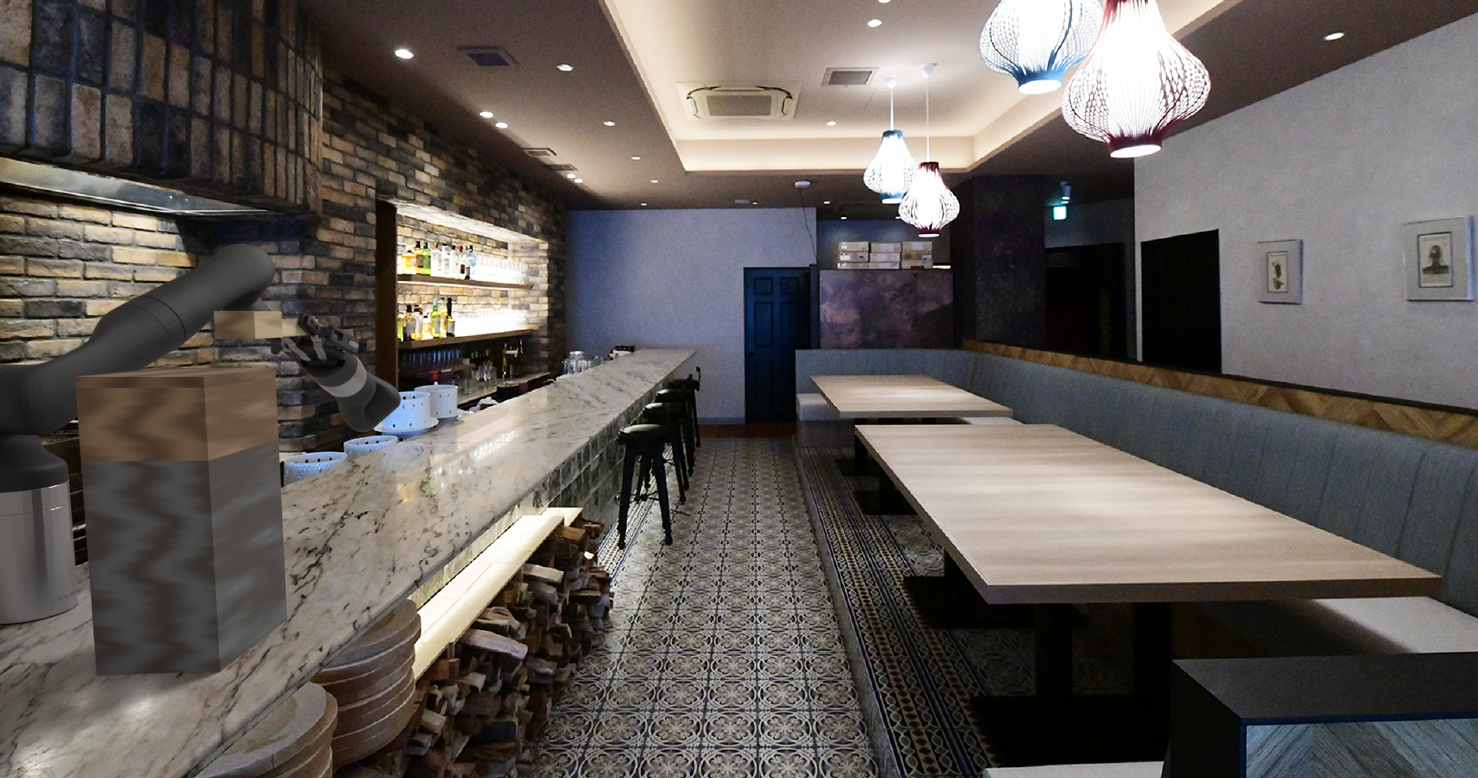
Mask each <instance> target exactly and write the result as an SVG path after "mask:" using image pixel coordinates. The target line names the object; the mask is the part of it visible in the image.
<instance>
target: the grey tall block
mask: <svg viewBox="0 0 1478 778" xmlns="http://www.w3.org/2000/svg"><path fill="white" fill-rule="evenodd" d="M276 380H277V377H276V368H275V367H162V368H152V369H151V368H150V369H142V370H139V371H129V372H119V373H109V374H98V375H88V376H78V377H75V385H76V399H77V413H78V417H77V424H78V425H77V426H78V437H79V438H78V439H79V453H80V464H81V465H80V466H81V479H82V480H81V481H82V494H83V506H84V508H83V509H84V521H85V535H86V536H85V537H86V547H87V549H86V550H87V561H88V574H89V575H88V577H89V590H90V603H91V604H90V605H91V606H90V607H91V619H92V631H93V633H92V634H93V644H94V647H93V648H94V657H95V658H94V659H95V670H96V672H95V673H96V676H113V675H114V676H116V675H117V676H118V675H146V674H147V675H149V674H173V673H174V674H175V673H176V674H178V673H179V674H180V673H205V672H206V673H208V672H209V673H210V672H222V671H223V670H224V669H225V668H227V667H228V666H230V664H232V663H233V662H234V661H236V660H237V659H238V658H239V657H241V656H242V655H243V654H245V652H247V651H248V650H250V649H251V648H252V647H254V646H255V645H256V644H258V642H260V641H261V640H262V639H264V638H265V637H266V636H267V635H269V634H270V633H271V632H273V630H275V629H276V628H278V627H279V626H280V625H282V624H283V623H285V622H286V621H287V620H288V608H287V607H288V605H287V589H286V588H287V587H286V586H287V585H286V566H285V565H286V564H285V563H286V562H285V547H284V545H285V544H284V543H285V541H284V525H283V524H284V523H283V522H284V521H283V520H284V519H283V503H282V485H281V480H282V479H281V463H280V460H281V459H280V443H279V441H280V440H279V419H278V402H277V401H278V400H277V397H278V396H277V381H276Z"/></svg>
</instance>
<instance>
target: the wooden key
mask: <svg viewBox="0 0 1478 778" xmlns="http://www.w3.org/2000/svg"><path fill="white" fill-rule="evenodd" d="M282 314H283V312H282V311H280V310H279V311H276V310H275V311H273V310H272V311H223V310H220V311H214V317H213V319H214V322H213V323H214V337H215V340H218V339H219V340H222V339H224V340H233V339H234V340H237V339H238V340H257V339H258V340H259V339H264V338H277V337H285V336H301V335H307V334H306V333H305V332H304V331H303V330H302V329H301V328H300V327H299V325H298V318H287V319H282ZM313 319H314V320H315V321H316V322H317V323H319V319H318V318H313Z"/></svg>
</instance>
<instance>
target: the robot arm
mask: <svg viewBox="0 0 1478 778" xmlns="http://www.w3.org/2000/svg"><path fill="white" fill-rule="evenodd" d="M275 267H276V266H275V264H274V261H273V259H272V258H271V256H270V255H269V254H268V253H267V252H266V251H265V250H263V249H262V248H259V247H257V246H255V245H252V244H247V243H236V244H234V243H233V244H230V245H226V246H224V247H223V248H221V249H220V250H219V251H218V252H216V253H215V254H214V255H212V256H211V257H210V258H208V259H207V260H206V261H203V263H201V264H200V265H198V266H196V267H195V268H194V269H192V270H190V271H188V272H185V273H183V274H182V275H179V276H178V277H177V276H176V277H174V278H172V279H170V280H169V281H166V282H164V283H162V284H160V285H158V286H156V287H154V288H152V289H150V290H148V291H146V292H144V293H141V294H140V295H138V296H135V297H133V298H131V299H129V300H127V301H126V302H123V303H122V304H120V305H118V306H116V307H115V308H113V309H111V310H109V311H108V312H107V313H105V314H104V315H103V316H101V318H100V319H99V321H97V322H96V324H95V326H94V329H93V331H92V333H91V334H90V337H89V338H88V340H86V342H84V343H83V344H81V345H80V346H78V347H76V348H74V349H72V350H69V351H67V352H65V353H64V354H62V355H59V356H57V357H55V358H51V359H49V360H47V361H45V362H39V363H35V364H15V363H14V364H9V363H8V364H7V363H4V364H2V363H1V364H0V625H3V624H4V625H6V624H16V623H17V624H18V623H23V622H30V621H35V620H41V619H45V618H49V617H51V616H55V615H58V614H62V613H64V612H66V611H68V610H71V609H72V608H74V607H75V606H77V605H78V603H79V600H78V599H79V597H78V586H77V585H78V584H77V569H76V558H75V557H76V556H75V555H76V554H75V545H74V531H73V516H72V506H71V505H72V504H71V492H70V478H69V476H70V475H69V467H68V466H69V465H68V463H67V462H66V461H65V460H64V459H63V458H61V457H59V456H57V455H55V454H53V453H52V452H50V451H48V449H46V447H44V445H43V444H42V443H41V442H40V439H39V436H40V435H45V434H49V433H53V432H55V431H58V430H60V429H62V428H64V427H65V426H67V425H69V424H70V423H71V422H73V421H74V420H75V419H76V418H77V419H78V413H77V399H76V385H75V377H78V376H88V375H98V374H109V373H119V372H129V371H139V370H145V368H146V367H148V366H151V364H153V363H155V362H157V361H158V360H160V359H162V358H163V357H165V356H167V355H168V354H170V353H171V352H173V351H175V350H177V348H180V347H181V346H183V345H184V344H185V343H186V342H188V341H189V340H190V339H192V338H193V337H194V336H195V335H196V334H197V333H199V332H200V331H201V330H202V329H203V328H205V326H206V325H207V324H208V323H209V322H211V321H212V319H214V311H273V310H272V309H271V308H270V307H269V306H268V305H267V304H266V303H265V302H264V301H263V300H262V298H261V296H262V295H263V294H264V292H266V291H267V289H268V288H269V287H270V286H271V284H272V282H273V281H274V278H275V274H276V269H275ZM297 317H298V318H297V319H298V325H299V327H300V328H301V329H302V330H303V331H304V332H305V333H306V334H307V335H301V336H285V337H277V338H263V339H265V340H266V341H267V342H268V343H269V344H270V345H269V346H270V354H272V355H276V356H277V355H280V353H284V354H285V355H287V357H288V358H290V359H291V360H292V361H293V362H295V363H296V365H298V366H299V367H300V368H301V369H302V370H303V371H304V372H305V373H307V375H308V376H310V378H311V379H313V381H314V382H315V383H317V384H318V385H319V386H320V387H321V388H322V389H323V390H324V391H326V392H327V393H328V394H330V395H332V397H333V398H334V399H335V400H336V402H337V407H338V410H339V414H340V415H341V418H342V419H343V421H344V423H345V424H346V425H347V426H348V427H349V428H350V429H352V430H354V431H355V432H356V431H357V432H360V433H368V432H370V431H372V430H374V429H375V428H376V427H377V426H378V425H379V424H380V423H382V422H383V421H384V420H386V418H388V417H389V416H390V415H391V414H392V413H393V412H394V411H396V410H397V409H398V408H399V407H400V405H401V402H402V400H401V399H402V398H401V395H400V393H399V391H398V389H397V388H396V387H395V386H394V385H392V384H391V383H389V382H387V381H386V380H383V379H381V378H379V377H378V376H376V375H374V374H372V373H370V372H369V371H367V369H366V368H365V367H364V365H363V363H362V361H361V360H360V359H359V357H358V356H357V353H358V350H359V345H360V339H358V338H356V337H355V336H353V335H352V334H349V333H348V332H346V331H344V330H343V329H340V328H339V327H337V326H336V325H333V324H328V325H327V327H326V326H324V325H323V324H322V323H319V322H318V323H317V322H316V321H315V320H314V319H315V318H313V317H312V316H311V315H309V314H308V313H306V312H303V311H301V312H300V311H299V313H298V316H297ZM282 319H288V318H287V317H286V316H285V315H284V314H283V313H282ZM335 335H336V337H335Z"/></svg>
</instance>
